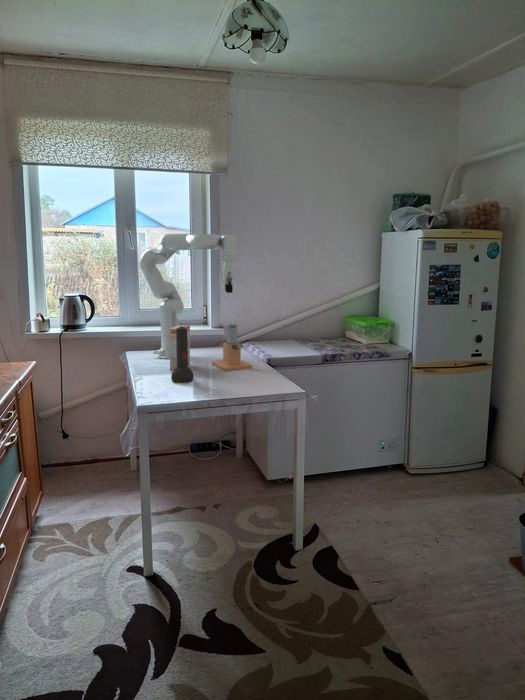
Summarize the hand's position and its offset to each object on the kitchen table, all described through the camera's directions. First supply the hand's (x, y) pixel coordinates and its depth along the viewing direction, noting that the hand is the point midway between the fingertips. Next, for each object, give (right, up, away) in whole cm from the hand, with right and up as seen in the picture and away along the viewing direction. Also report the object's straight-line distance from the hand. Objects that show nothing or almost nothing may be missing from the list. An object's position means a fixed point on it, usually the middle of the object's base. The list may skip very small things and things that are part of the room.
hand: (228, 292), depth 266 cm
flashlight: (-18, -45, -39) cm, 62 cm away
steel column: (+2, -37, -8) cm, 38 cm away
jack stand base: (+2, -39, -8) cm, 40 cm away
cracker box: (-23, -40, -13) cm, 48 cm away
